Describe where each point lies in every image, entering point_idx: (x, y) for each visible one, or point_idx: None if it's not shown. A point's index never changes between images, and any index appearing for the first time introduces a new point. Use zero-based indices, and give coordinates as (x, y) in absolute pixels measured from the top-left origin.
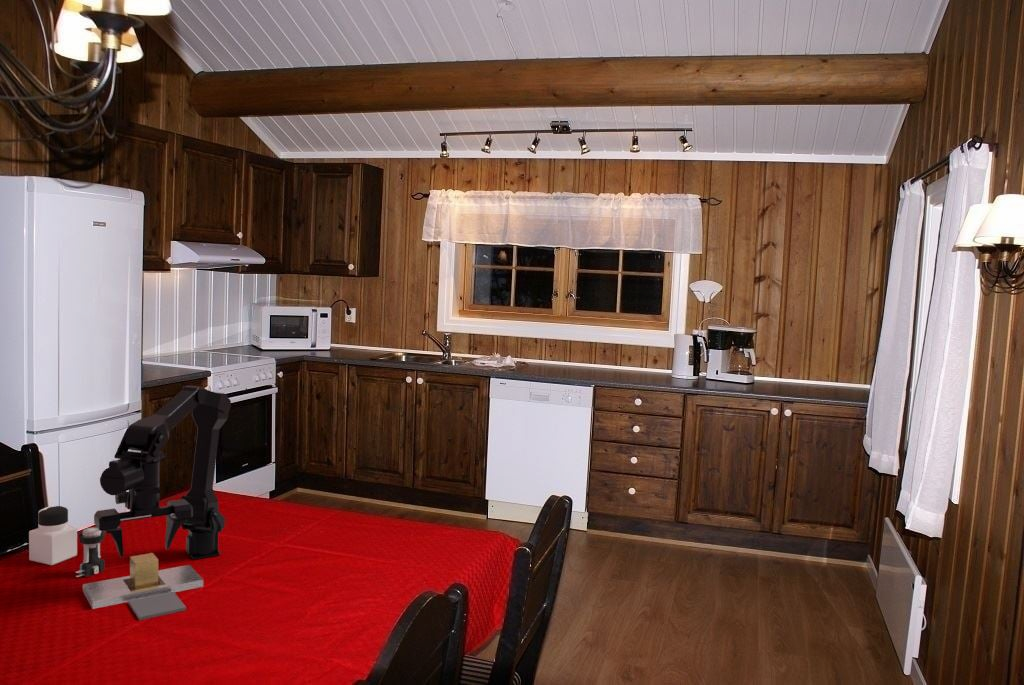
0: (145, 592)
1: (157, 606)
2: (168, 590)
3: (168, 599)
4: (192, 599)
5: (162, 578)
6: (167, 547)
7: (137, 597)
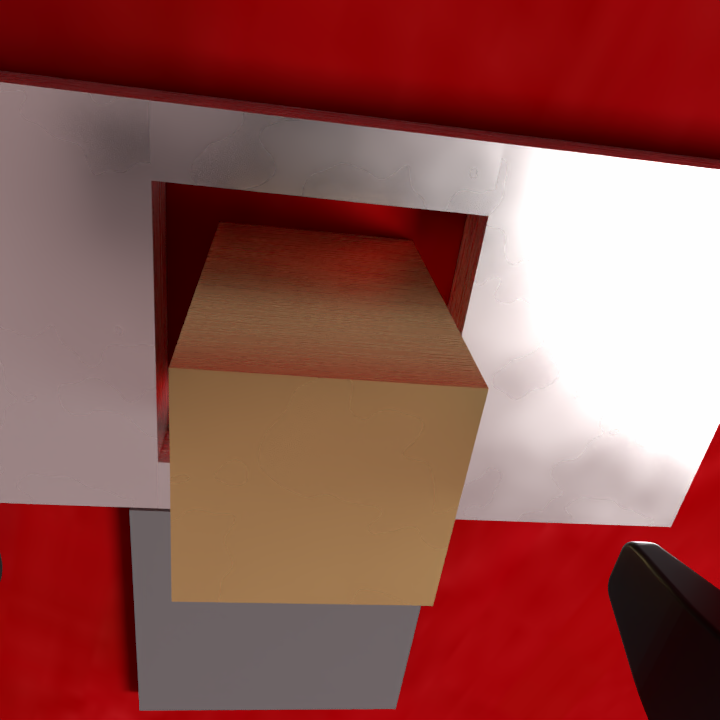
0: None
1: (269, 648)
2: None
3: None
4: (487, 607)
5: None
6: (622, 627)
7: None
